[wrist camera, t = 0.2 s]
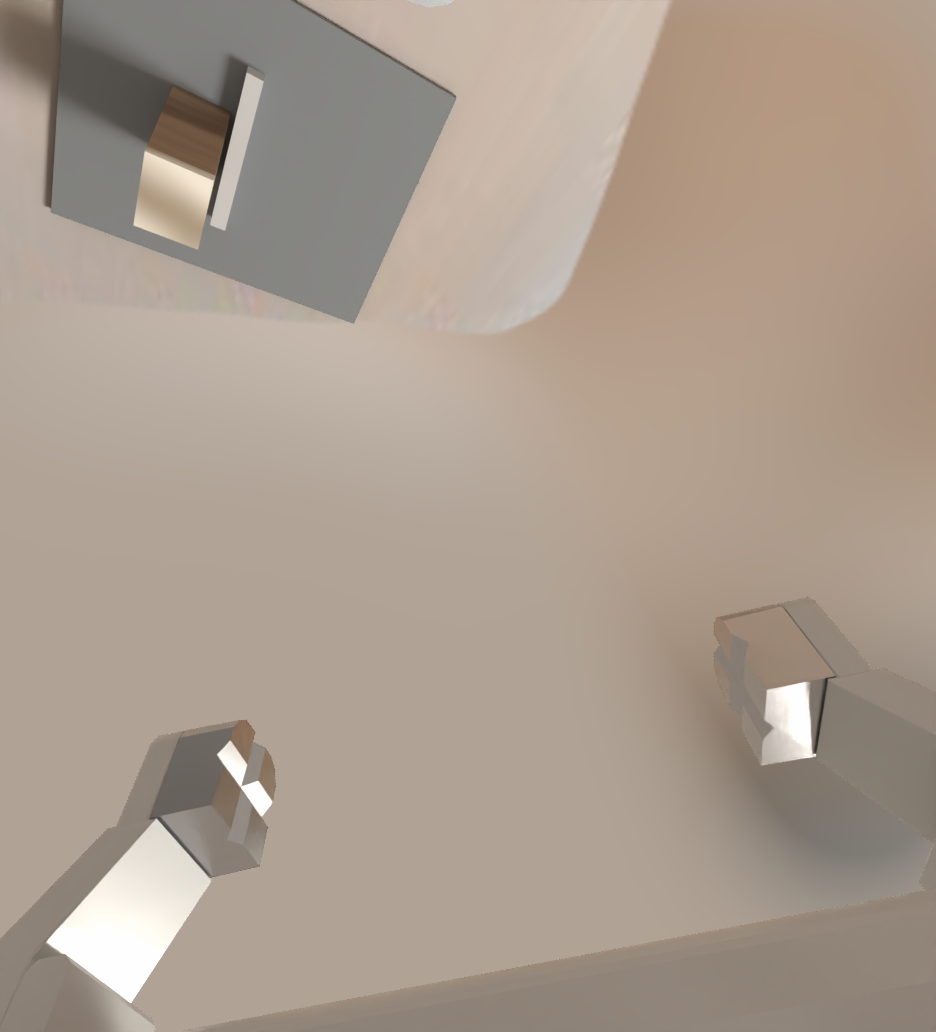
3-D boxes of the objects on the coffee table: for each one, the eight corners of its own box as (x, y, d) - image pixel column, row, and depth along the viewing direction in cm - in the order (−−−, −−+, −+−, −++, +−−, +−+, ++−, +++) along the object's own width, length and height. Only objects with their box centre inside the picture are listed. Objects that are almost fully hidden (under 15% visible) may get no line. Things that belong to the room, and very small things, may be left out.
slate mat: (73, -131, 37) (64, -127, 35) (455, 95, 49) (459, 105, 47) (52, 209, 51) (45, 221, 49) (353, 320, 63) (354, 332, 61)
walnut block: (173, 84, 45) (144, 151, 38) (230, 112, 47) (214, 181, 39) (162, 151, 48) (133, 225, 41) (216, 174, 50) (198, 249, 43)
